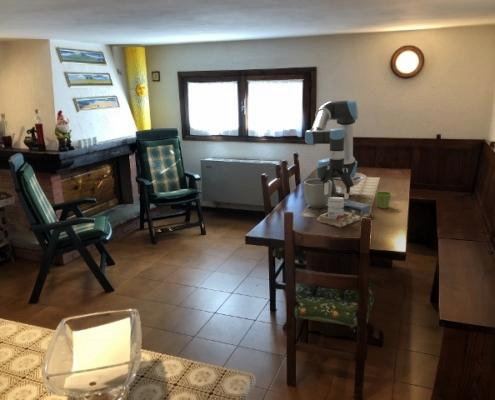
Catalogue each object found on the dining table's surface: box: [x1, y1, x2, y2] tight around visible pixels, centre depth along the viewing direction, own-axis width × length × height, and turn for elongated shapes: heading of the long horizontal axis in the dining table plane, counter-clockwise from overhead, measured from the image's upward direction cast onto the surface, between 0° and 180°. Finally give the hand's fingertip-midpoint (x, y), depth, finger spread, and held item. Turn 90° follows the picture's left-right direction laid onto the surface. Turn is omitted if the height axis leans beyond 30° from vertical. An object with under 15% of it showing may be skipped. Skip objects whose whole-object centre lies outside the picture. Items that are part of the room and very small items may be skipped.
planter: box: [303, 178, 332, 210], centre depth 253 cm, size 17×17×16 cm
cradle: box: [316, 208, 371, 228], centre depth 232 cm, size 28×16×4 cm, turn 131°
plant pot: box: [375, 191, 393, 209], centre depth 248 cm, size 9×9×9 cm
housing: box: [344, 199, 371, 215], centre depth 238 cm, size 8×15×4 cm, turn 41°
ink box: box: [327, 196, 345, 220], centre depth 227 cm, size 9×5×12 cm, turn 76°
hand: (336, 196), depth 225 cm, fingers open, 13 cm apart
